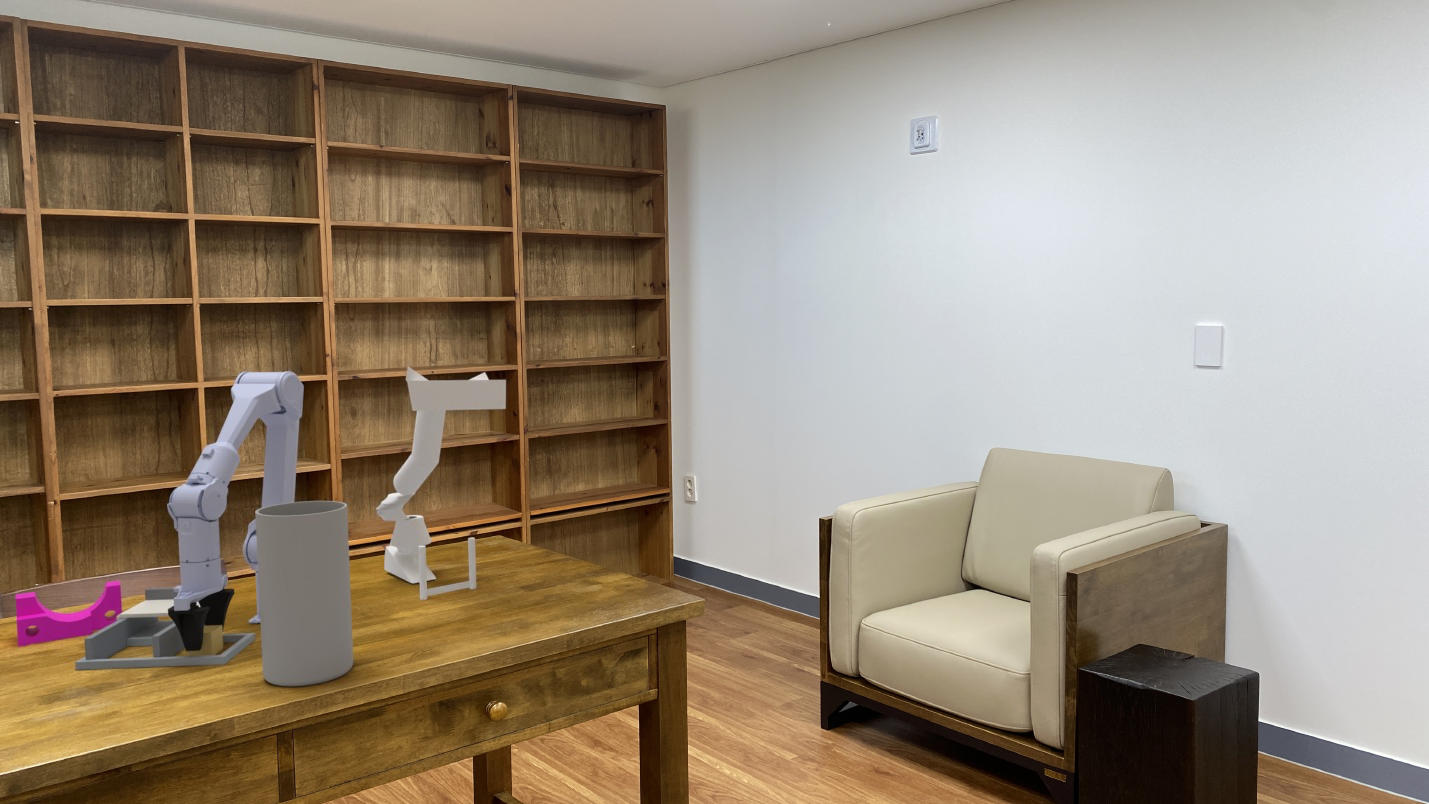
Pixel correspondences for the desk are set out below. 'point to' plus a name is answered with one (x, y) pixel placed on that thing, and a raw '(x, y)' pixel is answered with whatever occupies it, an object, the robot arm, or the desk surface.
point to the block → (210, 641)
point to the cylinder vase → (304, 592)
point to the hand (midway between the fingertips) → (204, 642)
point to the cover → (153, 604)
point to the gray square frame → (147, 634)
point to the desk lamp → (430, 417)
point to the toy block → (64, 617)
